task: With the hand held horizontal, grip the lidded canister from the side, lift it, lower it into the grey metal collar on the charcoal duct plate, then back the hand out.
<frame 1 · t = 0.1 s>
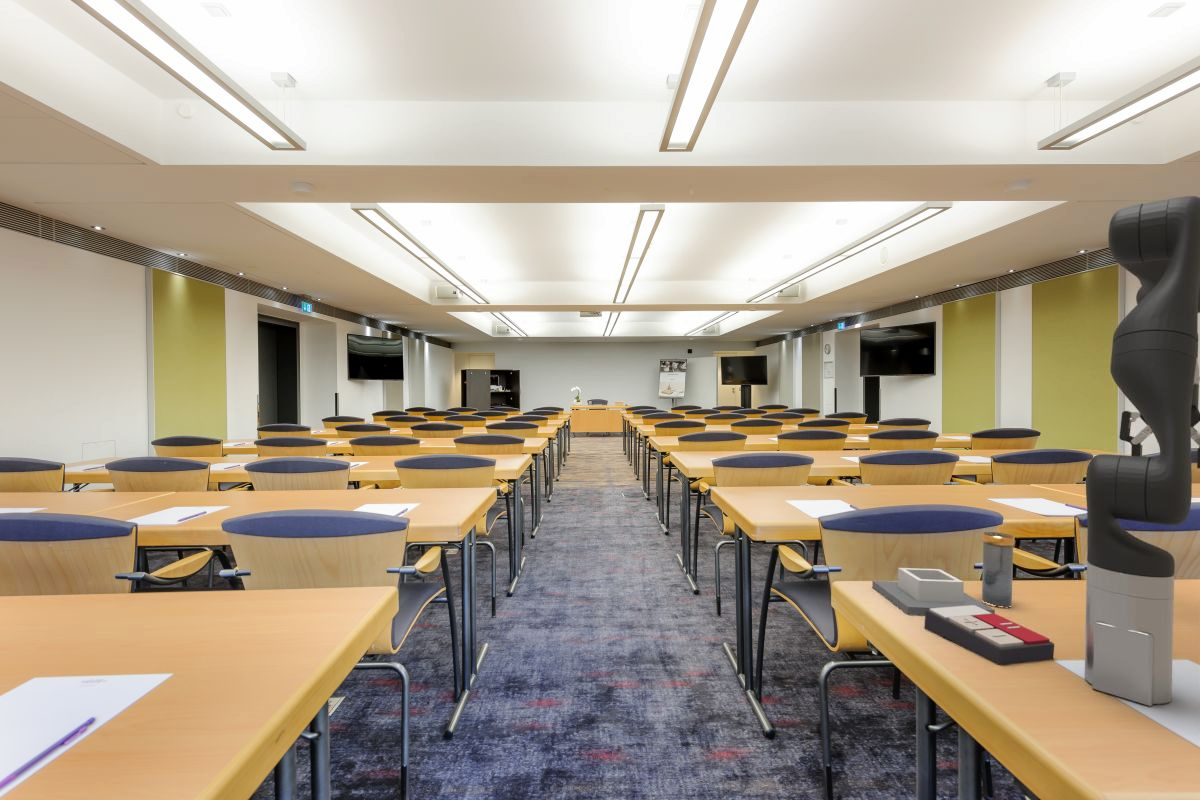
hand: (1168, 465, 112), 29 cm above the table, tool pointing down, fingers open, 8 cm apart
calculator: (985, 646, 98), on the table
duct collar: (929, 601, 117), on the table
lidded canister: (996, 603, 117), on the table
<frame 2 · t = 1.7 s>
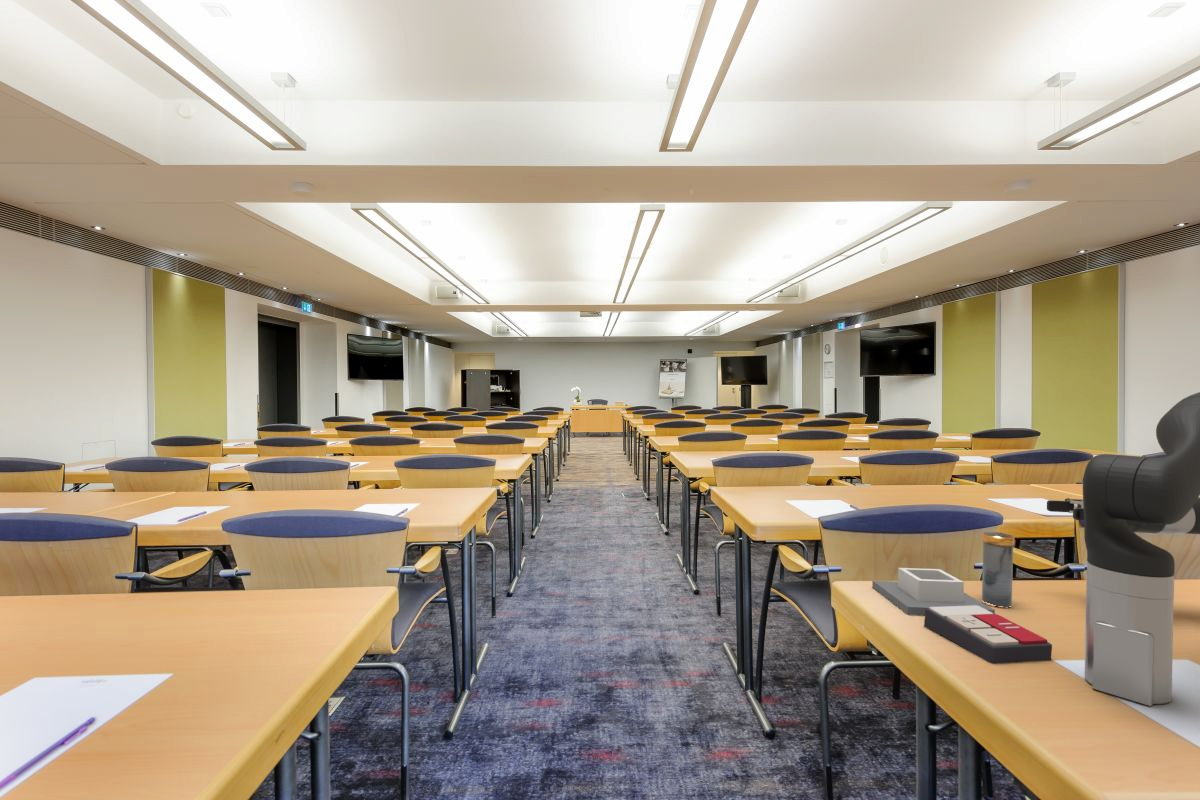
hand: (1060, 509, 115), 20 cm above the table, tool horizontal, fingers open, 8 cm apart
nothing on the table moved.
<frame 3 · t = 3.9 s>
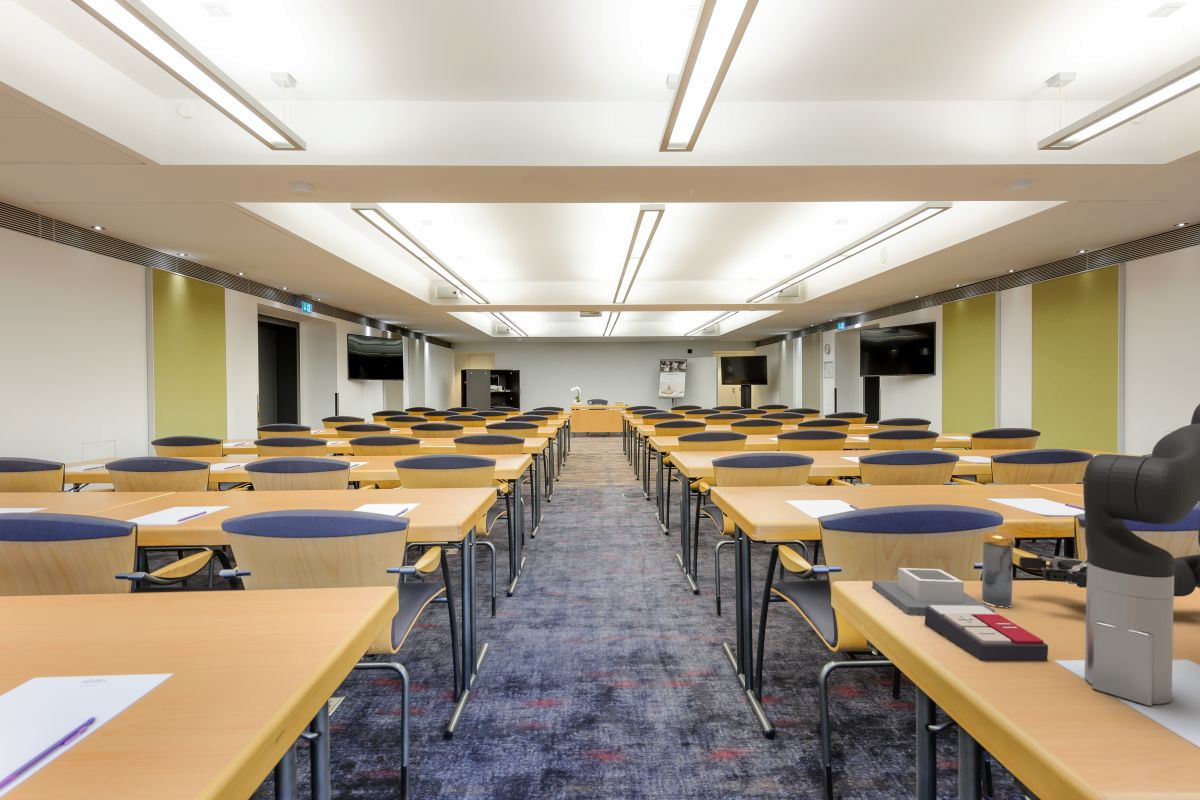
hand: (1031, 568, 116), 8 cm above the table, tool horizontal, fingers open, 8 cm apart
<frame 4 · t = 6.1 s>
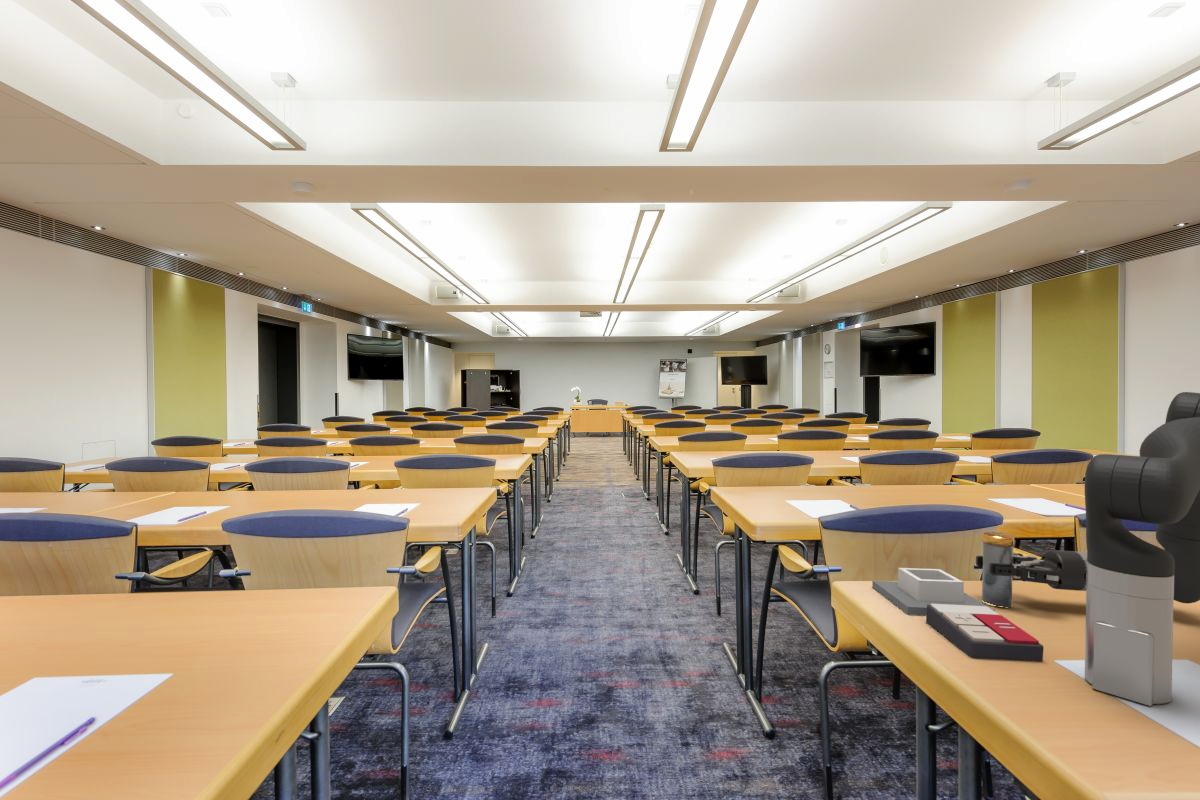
hand: (983, 565, 117), 8 cm above the table, tool horizontal, fingers closed on lidded canister, 5 cm apart
lidded canister: (996, 603, 117), on the table, touching gripper
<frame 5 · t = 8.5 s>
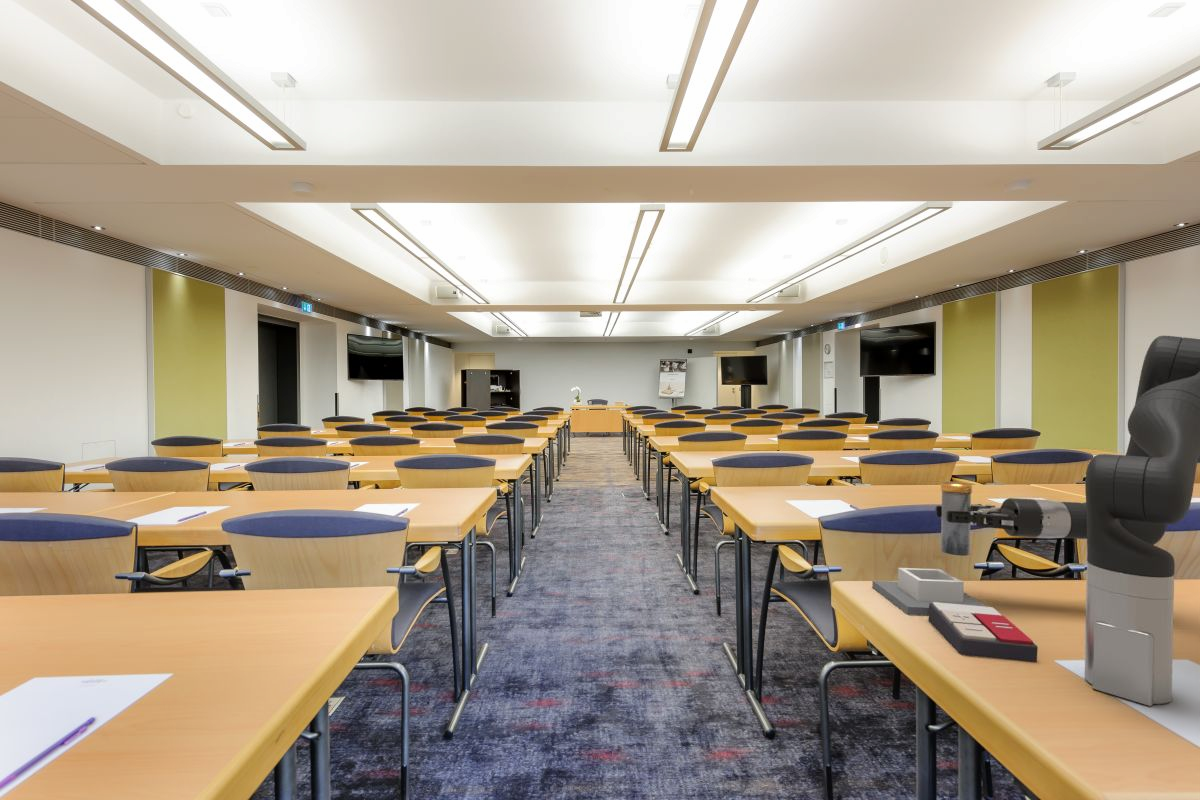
hand: (941, 513, 118), 18 cm above the table, tool horizontal, fingers closed on lidded canister, 5 cm apart
lidded canister: (955, 552, 117), point 10 cm above the table, touching gripper
when the fingers open (11 cm above the table, at t = 11.1 s): lidded canister drops 2 cm, resting on duct collar.
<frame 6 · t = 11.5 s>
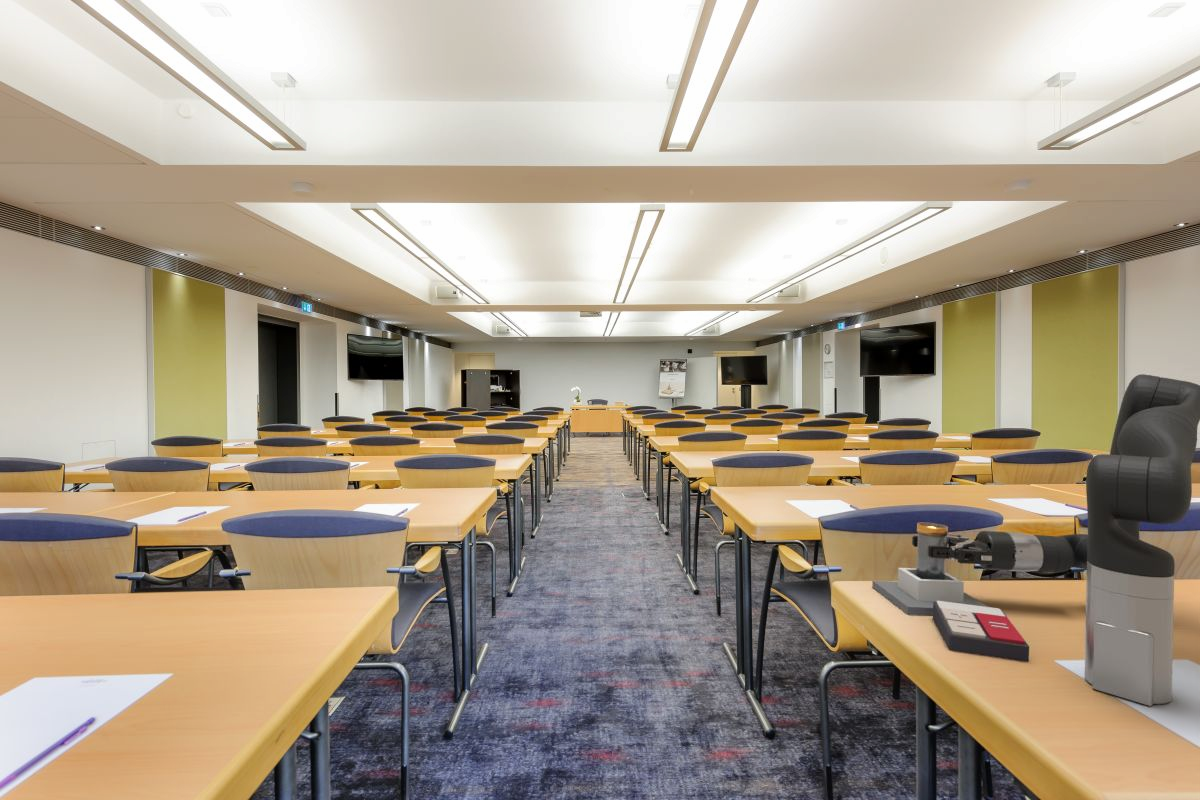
hand: (920, 546, 118), 11 cm above the table, tool horizontal, fingers open, 8 cm apart
lidded canister: (929, 594, 117), point 2 cm above the table, touching duct collar
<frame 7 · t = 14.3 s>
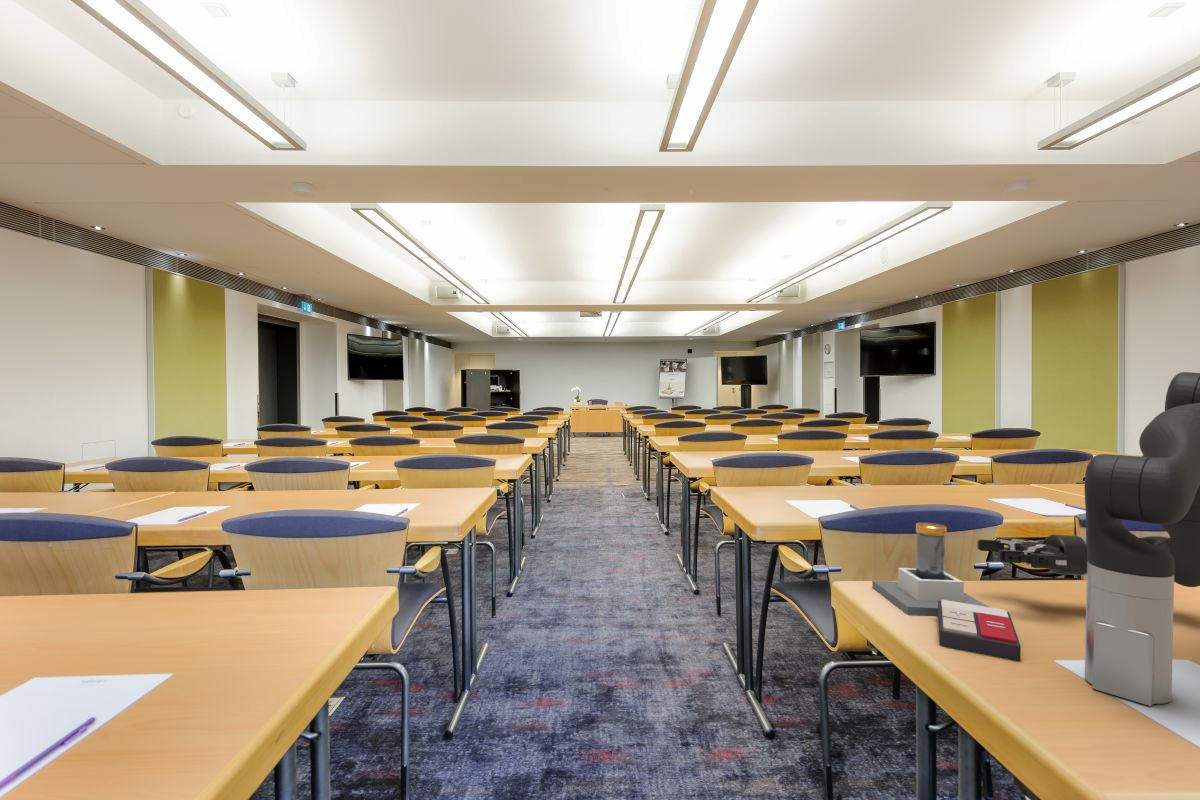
hand: (988, 550, 116), 11 cm above the table, tool horizontal, fingers open, 8 cm apart
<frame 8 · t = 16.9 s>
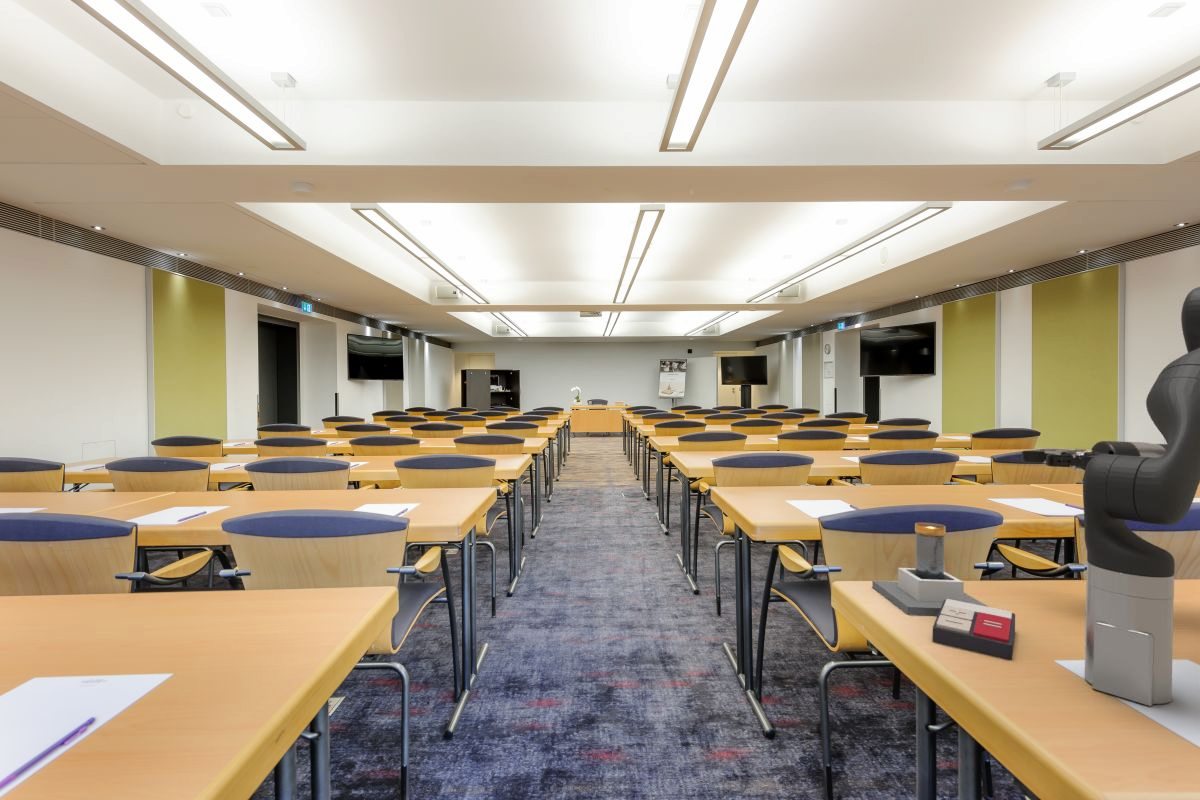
hand: (1034, 458, 113), 30 cm above the table, tool horizontal, fingers open, 8 cm apart
at the end: lidded canister 0.1 cm off-centre on the duct collar, point 1.5 cm above the duct collar's base; lidded canister tilted 1°; the gripper is holding nothing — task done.
